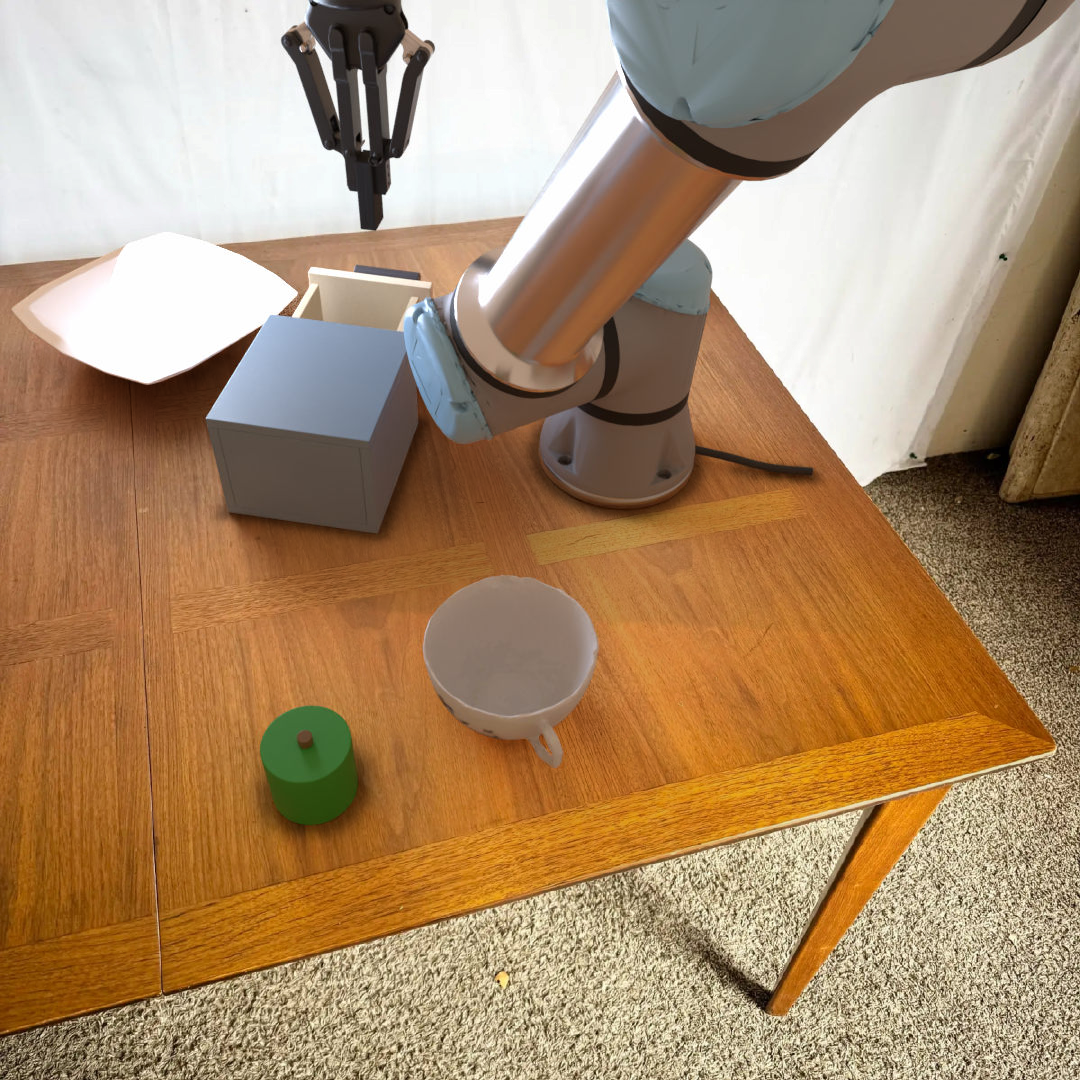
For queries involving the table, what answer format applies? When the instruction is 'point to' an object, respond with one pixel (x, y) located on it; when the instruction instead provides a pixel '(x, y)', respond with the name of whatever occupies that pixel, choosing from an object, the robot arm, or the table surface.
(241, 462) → the cabinet
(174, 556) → the table surface
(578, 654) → the teacup
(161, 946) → the table surface
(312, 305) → the drawer
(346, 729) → the pepper
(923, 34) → the robot arm
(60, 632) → the table surface
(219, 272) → the bowl
